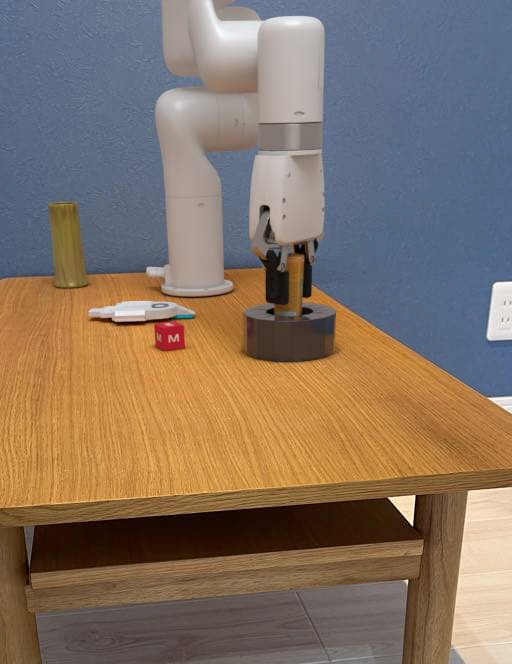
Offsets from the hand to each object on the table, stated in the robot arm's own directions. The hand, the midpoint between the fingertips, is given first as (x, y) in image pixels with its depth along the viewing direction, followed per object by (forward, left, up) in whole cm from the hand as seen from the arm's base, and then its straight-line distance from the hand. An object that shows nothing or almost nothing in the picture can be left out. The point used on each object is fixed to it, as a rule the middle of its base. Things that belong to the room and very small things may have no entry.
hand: (288, 298), depth 108 cm
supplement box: (0, 0, -5) cm, 5 cm away
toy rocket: (-25, +17, -7) cm, 31 cm away
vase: (-47, +44, -7) cm, 64 cm away
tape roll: (0, 0, -7) cm, 7 cm away
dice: (-16, 0, -7) cm, 17 cm away
